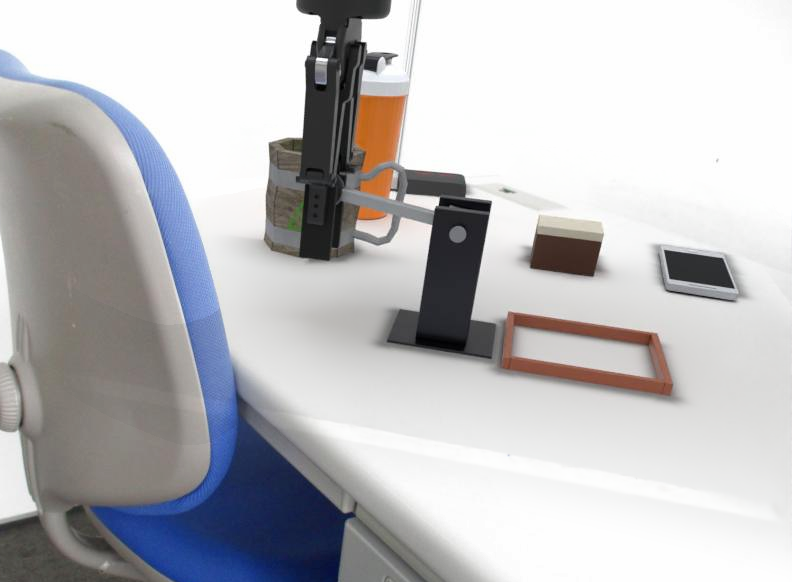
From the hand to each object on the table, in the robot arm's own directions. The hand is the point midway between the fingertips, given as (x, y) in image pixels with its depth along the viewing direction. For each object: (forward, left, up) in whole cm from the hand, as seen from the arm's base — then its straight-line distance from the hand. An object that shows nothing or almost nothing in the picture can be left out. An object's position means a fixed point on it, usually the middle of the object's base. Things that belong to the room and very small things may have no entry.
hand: (319, 250), depth 79 cm
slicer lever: (-6, 0, +3) cm, 7 cm away
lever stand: (-12, 0, -7) cm, 14 cm away
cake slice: (-23, -29, -7) cm, 38 cm away
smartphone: (-38, -32, -7) cm, 50 cm away
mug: (+3, -21, -7) cm, 22 cm away
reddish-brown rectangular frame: (-24, 0, -7) cm, 25 cm away
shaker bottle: (+3, -41, -7) cm, 42 cm away
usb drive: (-4, -57, -7) cm, 58 cm away
